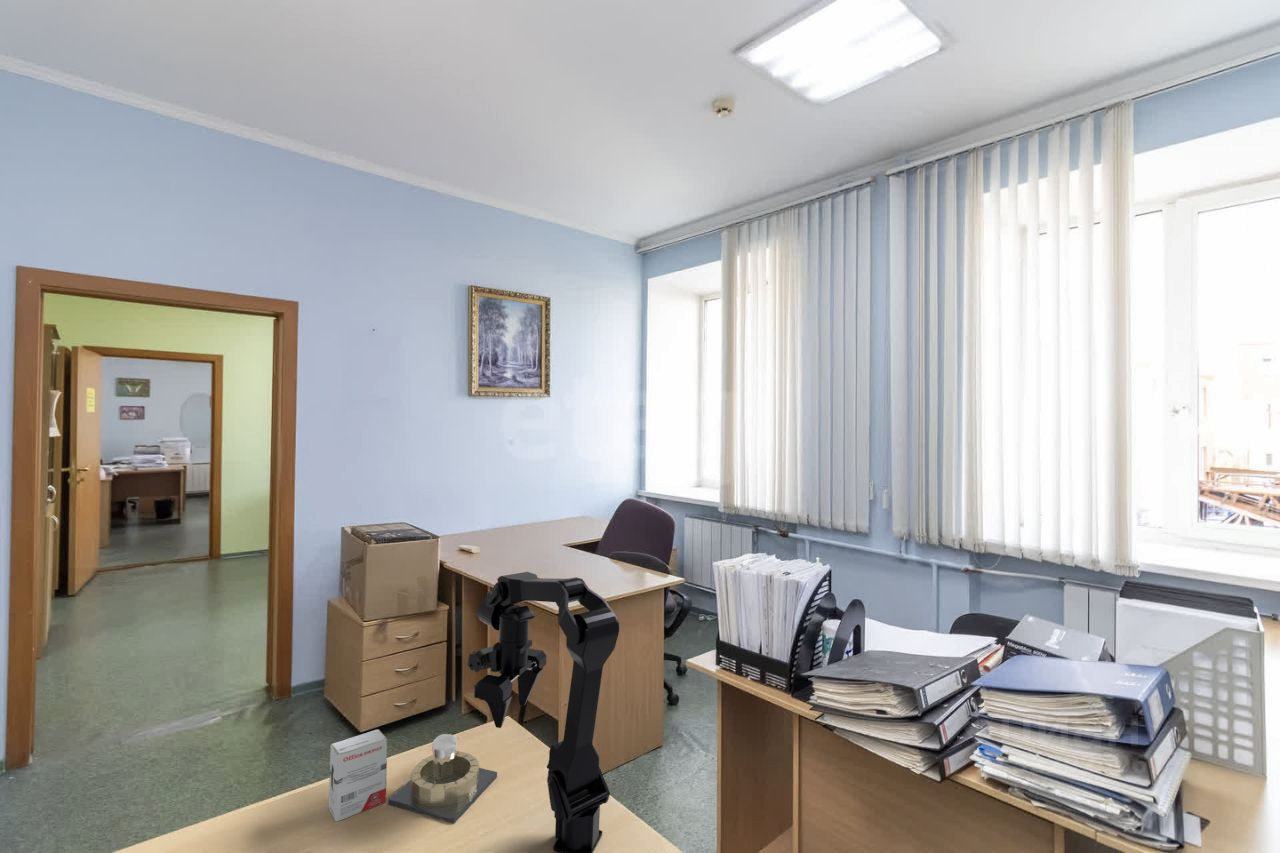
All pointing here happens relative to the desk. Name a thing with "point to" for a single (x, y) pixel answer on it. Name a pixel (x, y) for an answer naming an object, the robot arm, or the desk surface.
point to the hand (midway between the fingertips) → (510, 715)
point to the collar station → (444, 789)
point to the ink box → (357, 774)
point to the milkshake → (444, 758)
